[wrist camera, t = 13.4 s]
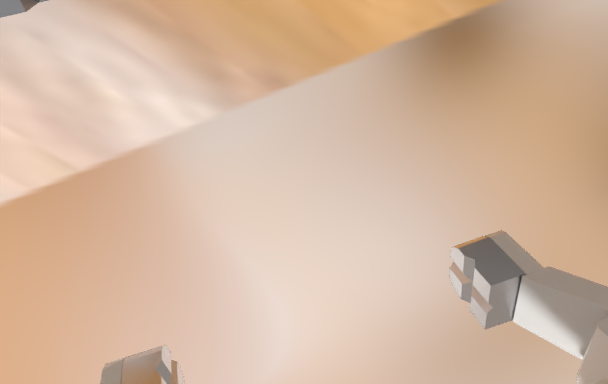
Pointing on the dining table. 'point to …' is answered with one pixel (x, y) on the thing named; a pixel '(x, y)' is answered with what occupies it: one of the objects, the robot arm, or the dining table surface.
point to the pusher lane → (16, 6)
